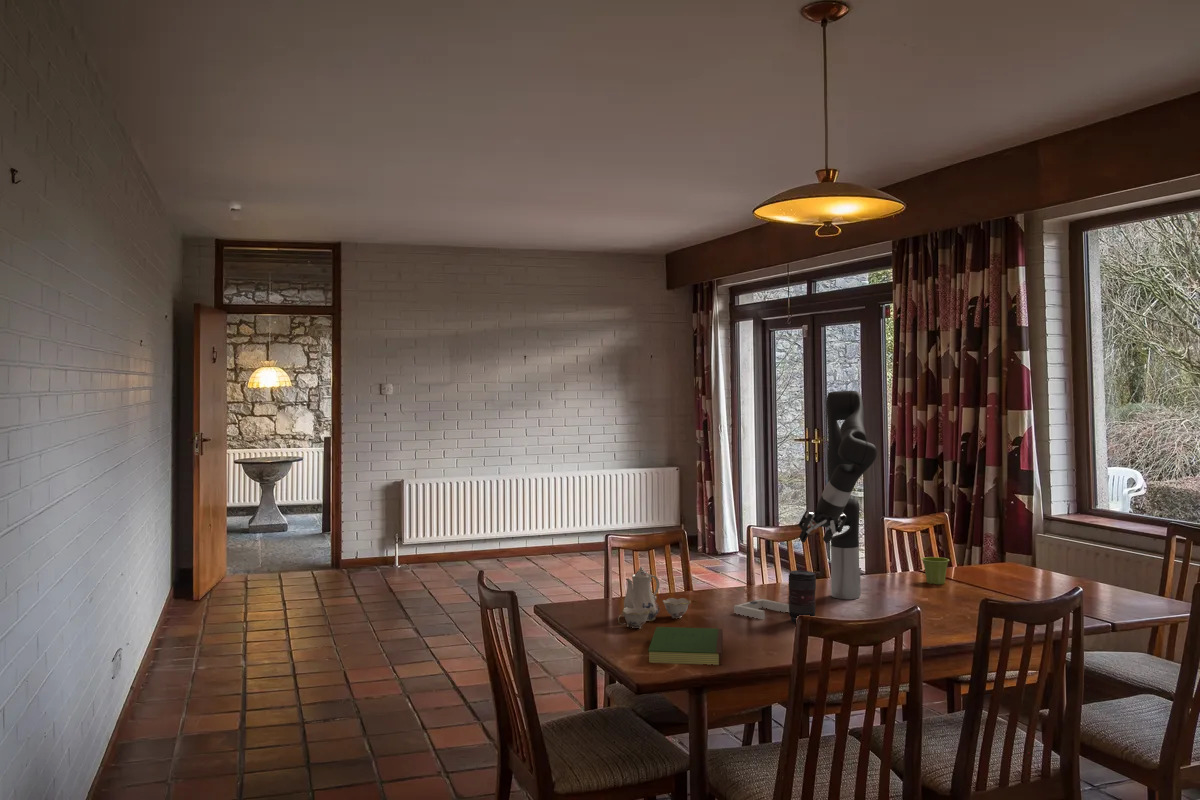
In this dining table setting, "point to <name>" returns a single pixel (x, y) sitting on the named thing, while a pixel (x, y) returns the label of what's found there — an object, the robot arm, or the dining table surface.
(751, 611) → the mount cradle
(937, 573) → the plant pot
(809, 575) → the camera lens
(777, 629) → the dining table surface
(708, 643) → the hardcover book
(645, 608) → the chinaware
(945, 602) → the dining table surface
